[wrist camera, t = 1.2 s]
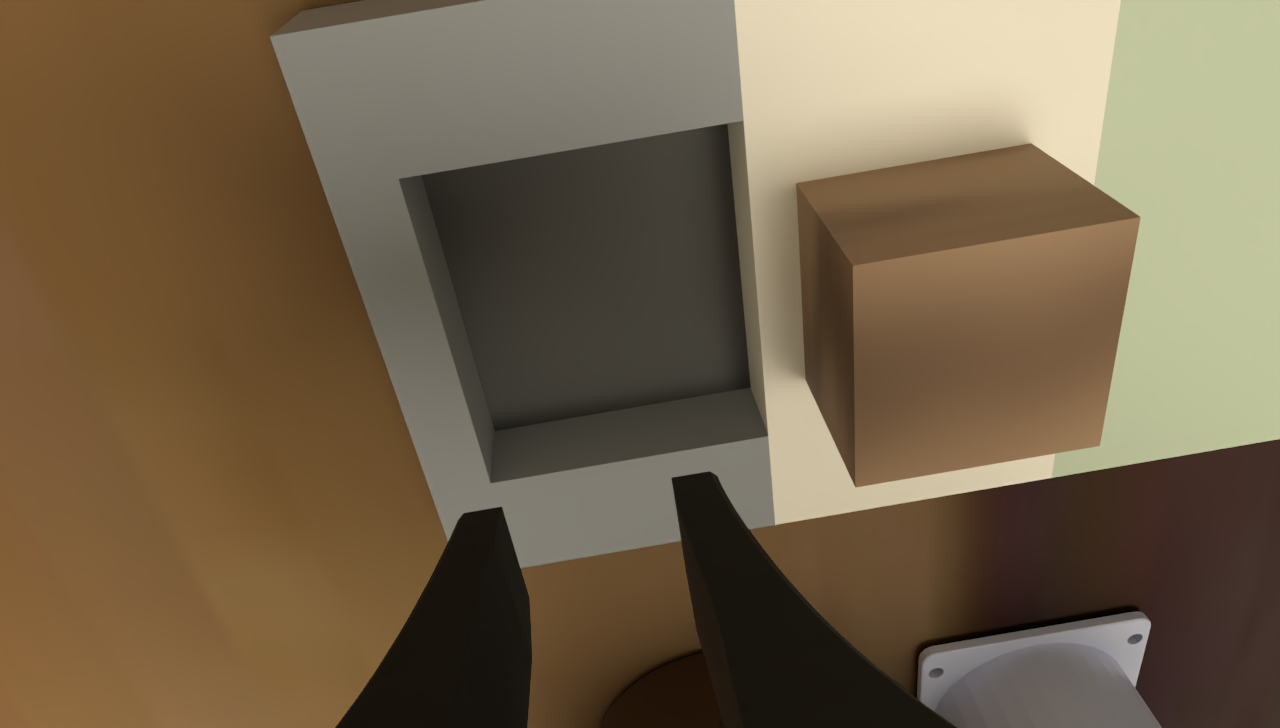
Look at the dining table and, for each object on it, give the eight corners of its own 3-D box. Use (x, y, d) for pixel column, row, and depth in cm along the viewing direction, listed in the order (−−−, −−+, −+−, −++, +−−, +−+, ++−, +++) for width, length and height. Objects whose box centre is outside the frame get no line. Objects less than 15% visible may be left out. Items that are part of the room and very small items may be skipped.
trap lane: (1549, 331, 26) (1639, 377, 24) (467, 515, 26) (461, 578, 23) (1829, -247, 18) (1998, -255, 16) (301, 10, 18) (270, 36, 16)
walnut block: (1010, 344, 21) (1100, 445, 18) (805, 379, 21) (855, 487, 18) (1031, 143, 18) (1140, 216, 15) (796, 182, 18) (852, 266, 15)
